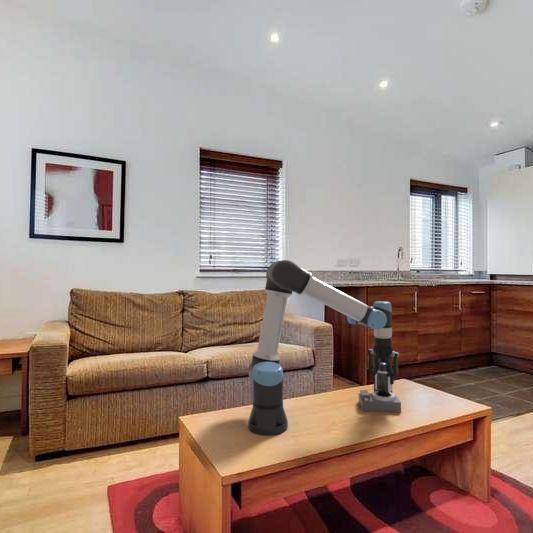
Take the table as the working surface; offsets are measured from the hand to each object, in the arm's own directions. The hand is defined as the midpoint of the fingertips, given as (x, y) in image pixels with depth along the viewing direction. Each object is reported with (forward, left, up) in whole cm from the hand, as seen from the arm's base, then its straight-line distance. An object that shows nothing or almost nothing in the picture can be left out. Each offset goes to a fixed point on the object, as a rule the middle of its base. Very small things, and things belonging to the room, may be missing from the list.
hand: (383, 390), depth 164 cm
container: (+3, +17, -8) cm, 19 cm away
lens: (0, 0, -3) cm, 3 cm away
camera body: (-2, 0, -7) cm, 8 cm away
